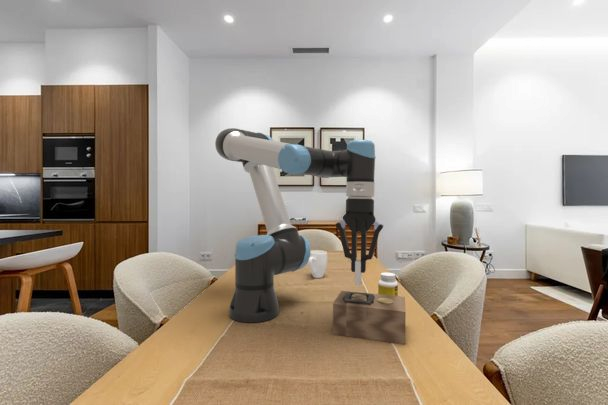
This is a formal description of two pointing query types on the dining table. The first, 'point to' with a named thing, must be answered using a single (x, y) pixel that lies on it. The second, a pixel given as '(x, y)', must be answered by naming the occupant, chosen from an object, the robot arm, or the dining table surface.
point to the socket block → (370, 317)
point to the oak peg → (359, 297)
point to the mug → (317, 263)
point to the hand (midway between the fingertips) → (358, 283)
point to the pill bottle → (388, 284)
